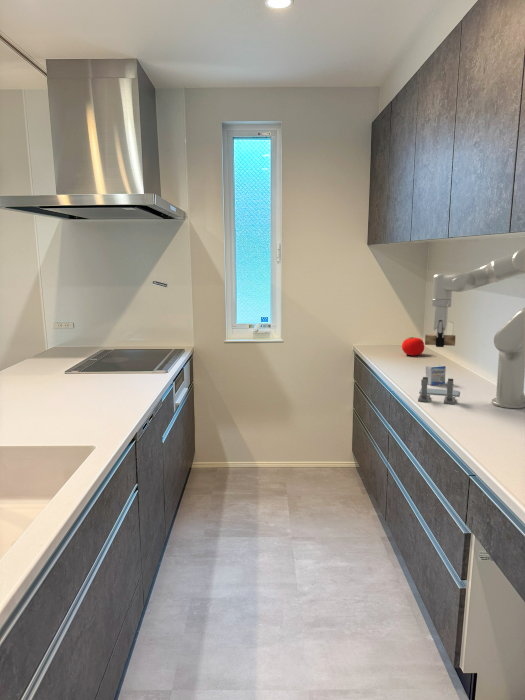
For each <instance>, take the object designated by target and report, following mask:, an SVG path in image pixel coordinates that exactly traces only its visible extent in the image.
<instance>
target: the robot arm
mask: <svg viewBox="0 0 525 700" xmlns="http://www.w3.org/2000/svg"><path fill="white" fill-rule="evenodd" d="M523 274H525V247H523V248H520V249H518V250H517V251H516V252H513V253H510V254H508V255H504V256H502V257H499V258H496V259H493V260H491V261H490V262H488V263H487V264H486V265H483V266H481V267H478V268H476V269H472V270H470V271H467V272H458V273H436V274H434V275H433V277H432V278H433V279H432V298H431V299H432V300H431V301H432V302H431V303H432V304H431V305H432V306H431V307H433V308H434V311H433V312H434V313H433V329H432V330H433V331H436V335H437V337H436V345H435V347H436V348H444V347H445V345H444V335H445V331H446V329H447V327H448V326H447V325H448V316H449V314H448V313H449V308H451V307H452V298H453V296H452V293H453V292H456V293H460V292H461V293H462V292H466V291H467V292H468V291H470V290H474V289H478V288H480V287H483V286H487V285H489V284H492V283H493V284H494V283H498V282H501V281H504V280H506V279H510V278H513V277H516V276H519V275H523ZM493 345H494V347H495V348H496V350H498V351H499V354H498V363H497V364H498V365H497V379H496V395H495V397H494V398H492V399H491V404H492V405H495V406H496V407H501V408H505V409H506V408H507V409H523V408H525V391H524V389H525V307H523V308H521V309H520V310H519V311H518V312H517V313H516V314H514V315H513V316H512V317H511V318H510V319H509V320H508V321H507V322H506V323H505V324H504V325H502V327H500V329H498V331H497V332H496V333H495V335H494V336H493Z"/></svg>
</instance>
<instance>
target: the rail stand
mask: <svg viewBox="0 0 525 700" xmlns="http://www.w3.org/2000/svg"><path fill="white" fill-rule="evenodd" d="M420 381H421V388H422V394H420V393H419V396H418V398H417V402H420V403H421V402H422V403H429V401H430V399H431V394H427V388H428V385H429V384H428V377H426V376H422V379H421V380H420ZM446 385H447V386H446V388H447V389H446V390H447V396H446V395H444V399H443V404H444V405H445V404H446V405H455V403H456V396H453V390H454V378H448V379H447V383H446Z"/></svg>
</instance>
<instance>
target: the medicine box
mask: <svg viewBox="0 0 525 700" xmlns="http://www.w3.org/2000/svg"><path fill="white" fill-rule="evenodd" d="M446 367H447V366H446V365H443V364H435V365H427V366H425V377H428V384H427V385H429V386H438V385H439V384H440V385H446V371H447V370H446V369H447V368H446Z"/></svg>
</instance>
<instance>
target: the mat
mask: <svg viewBox="0 0 525 700" xmlns="http://www.w3.org/2000/svg"><path fill="white" fill-rule="evenodd" d="M418 394H419V395H420V394H422V387H420V390H419V391H418ZM427 395H437V396H447V389H444V388H443V389H440V388H439V389H438V388H428V387H427ZM459 395H460V390H454V389H453V397H459Z"/></svg>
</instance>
